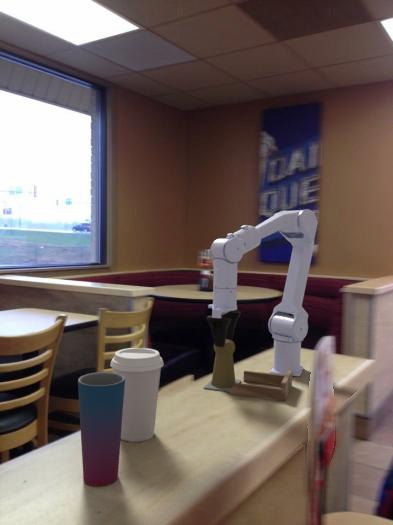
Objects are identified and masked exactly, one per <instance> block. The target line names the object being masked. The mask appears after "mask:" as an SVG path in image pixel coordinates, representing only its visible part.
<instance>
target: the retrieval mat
mask: <svg viewBox="0 0 393 525" xmlns="http://www.w3.org/2000/svg"><path fill="white" fill-rule="evenodd" d="M211 382H212V379H210V381H209V382H208V383H207V384H206V385H205V386H204V387H203V389H204V390H212V391H219V392H227V393H233V387H232V388H218V387H214V386H212V385H211ZM235 382H236V383H241V382H242V380H241V379H235Z"/></svg>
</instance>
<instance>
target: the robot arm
mask: <svg viewBox="0 0 393 525" xmlns="http://www.w3.org/2000/svg"><path fill="white" fill-rule="evenodd" d="M318 223H319V221H318V219H317V217H316V215H315V213H314V212H313V211H312V210H311V209H307V208H306V209H300V210H299V209H298V210H284V209H283V210H281V211H279V212H276V213H274V215H272V216H271V217H269V218H268V219H265V220H264V221H263V222H261V223H259V224H257V225H256V226H254V225H247V224H244V225H242V226H240V229H239V230H237V231H235V232H234V233H232V232H231V233H230V232H229V233H227V235H226V237H225V238H217V239H215V240H213V242H212V243H211V245H210V248H209V249H208V254H209V255H208V256H210V258H211V261H212V267H213V290H212V291H213V292H212V304H207V307H208V308H207V309H212V310H211V315H208V316H206V321H207V323H208V324H209V327H210V329H211V330H210V331H211V334H212V339H213V342H214V343H213V345H214V344H215V346H217V347H224V345H225V340H226V339H228V340H231V341H233V338H234V334H235V331H236V330H235V329H236V325H237V322H238V321H239V317H240V316H241V313H242V312H241V311H237V310H238V305H237V303H238V302H237V297H238V295H237V294H238V293H237V292H238V262H240V261H241V260H242V258H243V257H244V256H243V255H245V254H246V253H248V252H250V251H252V250H253V249H255V248H258V246H260V245H261V242H262V240H263V239H264V238H267V237H268V236H270V235H273V234H274V233H276V232H279V233H280V234H281V235H282V236H283V237H284V238H285V240H286V241H288V242H289V243H290V245H292V249H291V250H292V251H291V256H290V260H289V265H288V271H287V275H286V280H285V285H284V289H283V294H282V295H283V296H282V300H281V302H280V303H279V304H277V305H276V306H274V307H273V311H272V314H271V316H270V317H269V319H268V323H267V326H268V331H269V333H270V334H271V335H272V336H271V338H272V339H273V362H272V363H273V364H272V368H271V369H270V370H269V373H272V374H281V375H286V373H287V371H288V369H290V370H292V377H300V376H301V375H302V372H303V369H304V366H303V365H301V355H302V354H301V351H302V350H301V349H302V342H304V339H305V338H306V336H307V335H308V331H309V330H308V329H309V324H308V319H309V314H308V312H307V311H306V310H305V309H304V307H303V301H304V297H305V292H306V291H305V290H306V287H307V281H308V276H309V272H310V267H311V262H312V257H313V252H314V248H315V238H316V233H317V228H318V225H319V224H318Z"/></svg>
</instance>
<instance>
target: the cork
mask: <svg viewBox="0 0 393 525" xmlns="http://www.w3.org/2000/svg"><path fill="white" fill-rule="evenodd" d="M235 350H236V344H235V342H234V341H233V340H228V339H226V340H225V345H224V347H217V346H215V344H214V343H213V351H214V352H215V355H214V356H215V357H214V363H213V371H212V374H211V375H212V376H211V380H212V382H211V385H212V386H214V387H218V388H232V387H233V383H236V382H235V380H236V376H235V375H236V373H235V364H234V352H235Z"/></svg>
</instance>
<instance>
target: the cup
mask: <svg viewBox="0 0 393 525" xmlns="http://www.w3.org/2000/svg"><path fill="white" fill-rule="evenodd" d="M77 387H78V404H79V405H78V406H79V424H80V438H81V439H80V441H81V444H80V445H81V457H82V459H81V461H82V474H83V475H82V479H83V480H82V481H83V482H84V484H86V485H88V486H90V487H97V488H99V487H106V486H109V485H111V484H113V483H115V482H116V481H117V480H118V478H119V465H120V454H121V453H120V451H121V440H122V439H121V428H122V414H123V401H124V388H125V377H124V376H123V375H121V374H118V373H113V372H109V371H108V372H107V371H102V372H101V371H99V372H97V371H96V372H91V373H86V374H84V375H81V376H80V377H79V378H78V380H77Z"/></svg>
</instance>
